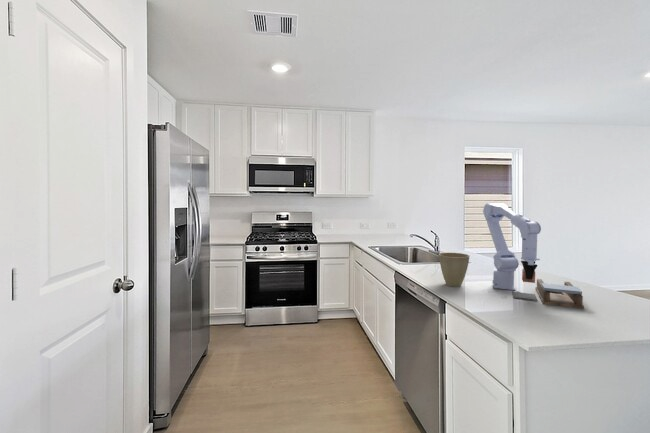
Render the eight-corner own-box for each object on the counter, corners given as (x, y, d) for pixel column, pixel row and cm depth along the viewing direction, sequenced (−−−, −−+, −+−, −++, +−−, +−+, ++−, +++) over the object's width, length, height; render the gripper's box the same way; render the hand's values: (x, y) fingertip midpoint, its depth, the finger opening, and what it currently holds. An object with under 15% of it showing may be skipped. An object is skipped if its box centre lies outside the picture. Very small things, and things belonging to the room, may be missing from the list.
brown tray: (542, 303, 134) (542, 291, 134) (535, 289, 155) (535, 278, 154) (583, 308, 128) (584, 296, 128) (570, 293, 148) (571, 282, 148)
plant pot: (475, 286, 161) (475, 255, 160) (456, 290, 154) (456, 258, 153) (450, 279, 174) (451, 251, 173) (432, 283, 167) (432, 254, 166)
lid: (543, 290, 135) (544, 287, 135) (541, 285, 142) (541, 283, 142) (582, 294, 129) (582, 291, 129) (577, 289, 136) (577, 286, 136)
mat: (513, 298, 141) (513, 297, 141) (512, 292, 149) (512, 291, 149) (537, 301, 137) (537, 299, 137) (534, 295, 145) (534, 294, 145)
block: (523, 281, 142) (523, 270, 142) (522, 279, 146) (522, 268, 146) (535, 282, 140) (535, 271, 140) (533, 280, 144) (533, 269, 144)
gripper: (542, 251, 134) (541, 282, 135) (537, 246, 147) (536, 274, 148) (523, 250, 137) (522, 280, 138) (519, 245, 150) (518, 273, 151)
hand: (528, 277), depth 143 cm, fingers closed on block, 4 cm apart
